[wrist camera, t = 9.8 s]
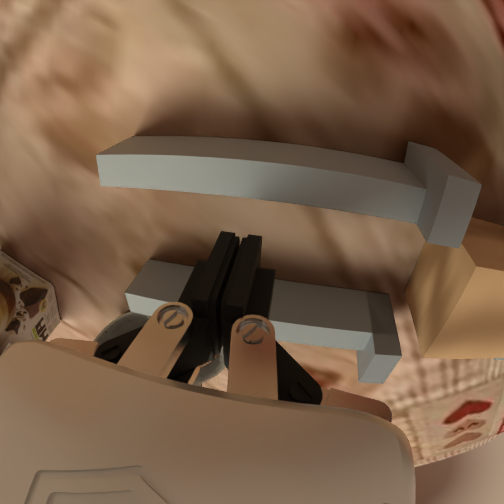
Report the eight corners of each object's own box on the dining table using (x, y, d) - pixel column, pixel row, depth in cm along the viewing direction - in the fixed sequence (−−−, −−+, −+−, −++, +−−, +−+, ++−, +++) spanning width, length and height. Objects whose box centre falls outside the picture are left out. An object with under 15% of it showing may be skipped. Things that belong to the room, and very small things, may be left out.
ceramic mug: (159, 371, 28) (133, 433, 22) (106, 316, 25) (66, 381, 18) (249, 359, 24) (231, 441, 18) (196, 290, 21) (156, 381, 14)
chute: (131, 115, 14) (72, 139, 10) (435, 148, 12) (482, 184, 8) (154, 290, 21) (124, 340, 17) (375, 323, 19) (383, 383, 15)
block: (436, 207, 14) (476, 266, 10) (516, 229, 13) (559, 281, 9) (404, 290, 18) (422, 357, 13) (481, 299, 17) (507, 357, 12)
